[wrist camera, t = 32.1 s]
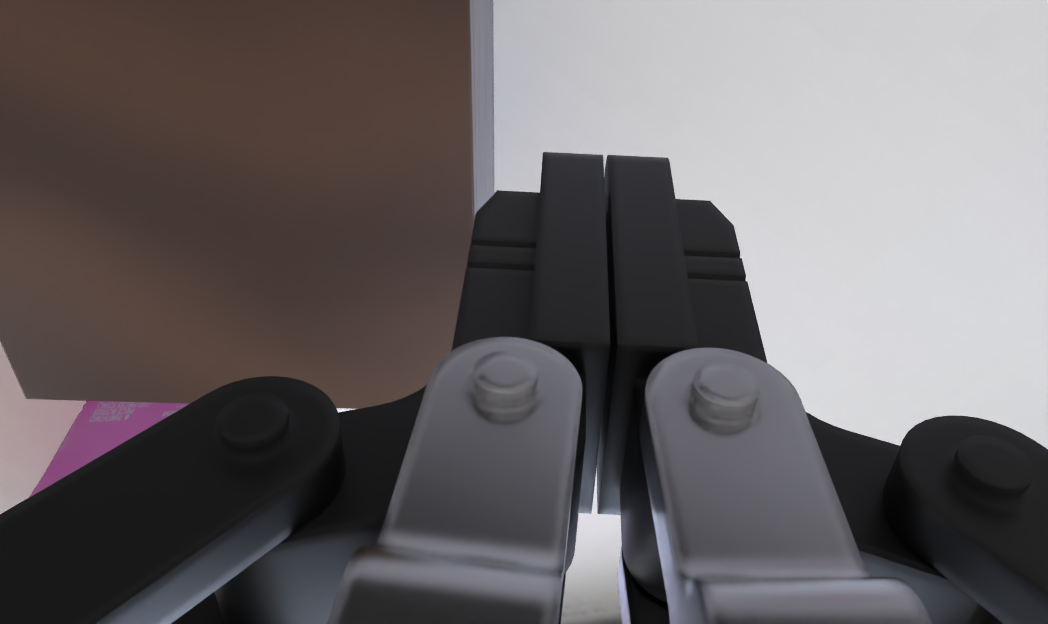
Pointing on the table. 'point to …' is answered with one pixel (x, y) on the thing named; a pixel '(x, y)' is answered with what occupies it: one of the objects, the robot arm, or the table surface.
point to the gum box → (102, 433)
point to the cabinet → (238, 192)
